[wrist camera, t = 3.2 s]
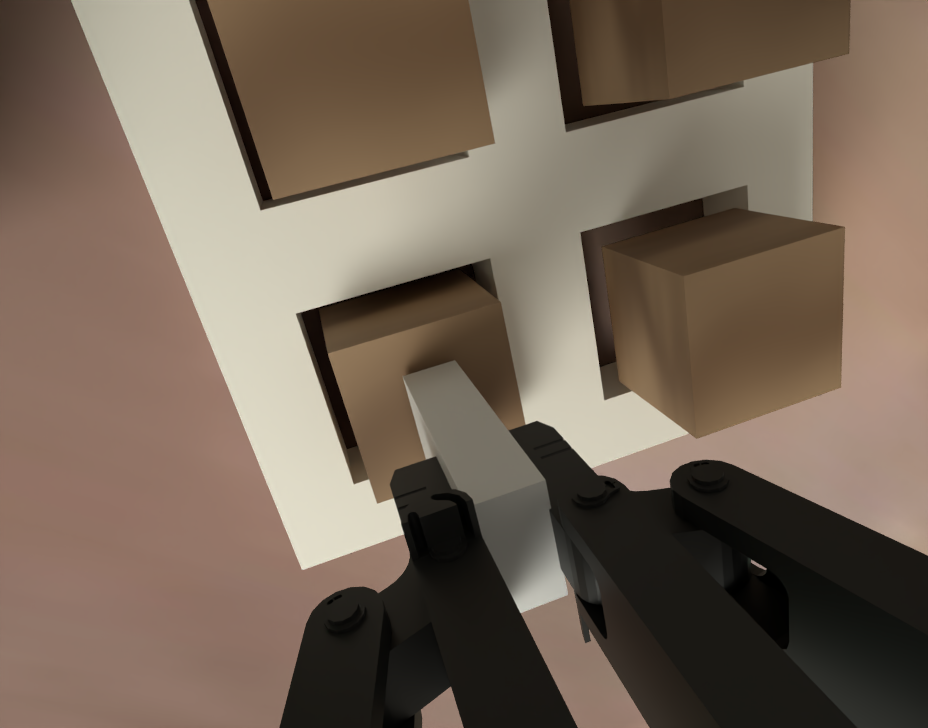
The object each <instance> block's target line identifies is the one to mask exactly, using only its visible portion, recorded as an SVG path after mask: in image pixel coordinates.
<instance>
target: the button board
mask: <svg viewBox="0 0 928 728" xmlns="http://www.w3.org/2000/svg"><path fill="white" fill-rule="evenodd" d="M71 2H72V4H73V7H74V9H75V12H76V14H77V17H78V19H79V21H80V24H81V26H82V29H83V31H84V34H85V36H86V39H87V41H88V44H89V46H90V49H91V51H92V53H93V56H94V58H95V61H96V63H97V66H98V68H99V71H100V73H101V76H102V78H103V81H104V83H105V85H106V88H107V90H108V93H109V95H110V98H111V100H112V103H113V105H114V108H115V110H116V113H117V115H118V118H119V120H120V122H121V125H122V127H123V130H124V132H125V135H126V137H127V140H128V142H129V145H130V147H131V150H132V152H133V154H134V157H135V159H136V162H137V164H138V167H139V169H140V172H141V174H142V177H143V179H144V182H145V184H146V186H147V189H148V191H149V194H150V196H151V199H152V201H153V204H154V206H155V209H156V211H157V214H158V216H159V218H160V221H161V223H162V226H163V228H164V231H165V233H166V236H167V238H168V241H169V243H170V246H171V248H172V250H173V253H174V255H175V258H176V260H177V263H178V265H179V268H180V270H181V273H182V275H183V278H184V280H185V283H186V285H187V287H188V290H189V292H190V295H191V297H192V300H193V302H194V305H195V307H196V310H197V312H198V315H199V317H200V319H201V322H202V324H203V327H204V329H205V332H206V334H207V337H208V339H209V342H210V344H211V347H212V349H213V351H214V354H215V356H216V359H217V361H218V364H219V366H220V369H221V371H222V374H223V376H224V379H225V381H226V383H227V386H228V388H229V391H230V393H231V396H232V398H233V401H234V403H235V406H236V408H237V411H238V413H239V416H240V418H241V420H242V423H243V425H244V428H245V430H246V433H247V435H248V438H249V440H250V443H251V445H252V448H253V450H254V452H255V455H256V457H257V460H258V462H259V465H260V467H261V470H262V472H263V475H264V477H265V480H266V482H267V484H268V487H269V489H270V492H271V494H272V497H273V499H274V502H275V504H276V507H277V509H278V512H279V514H280V516H281V519H282V521H283V524H284V526H285V529H286V531H287V534H288V536H289V539H290V541H291V544H292V546H293V548H294V551H295V553H296V556H297V558H298V561H299V563H300V566H301V568H302V570H304V569H307V568H309V567H312V566H315V565H318V564H321V563H324V562H326V561H329V560H332V559H335V558H338V557H341V556H343V555H346V554H349V553H352V552H355V551H358V550H360V549H363V548H366V547H369V546H372V545H375V544H377V543H380V542H383V541H386V540H389V539H392V538H394V537H397V536H400V535H403V534H404V532H403V529H402V526H401V520H400V517H399V514H398V511H397V507H396V504H395V501H394V498H393V499H390V500H387V501H384V502H381V503H378V504H377V502H376V499H375V496H374V493H373V490H372V487H371V484H370V481H369V478H368V475H367V472H366V469H365V466H364V463H363V459H362V456H361V453H360V450H359V447H358V446H355V447H352V448H349V449H346V446H345V443H344V440H343V437H342V434H341V431H340V428H339V425H338V422H337V419H336V416H335V413H334V410H333V407H332V404H331V401H330V399H329V396H328V393H327V390H326V387H325V384H324V381H323V378H322V375H321V372H320V369H319V366H318V363H317V360H316V357H315V354H314V351H313V348H312V345H311V342H310V339H309V336H308V333H307V330H306V327H305V324H304V321H303V318H302V316H301V313H300V312H303V311H307V310H310V309H314V308H317V307H321V306H324V305H328V304H331V303H335V302H338V301H342V300H345V299H349V298H352V297H356V296H359V295H363V294H366V293H370V292H373V291H377V290H380V289H384V288H387V287H391V286H394V285H398V284H401V283H405V282H408V281H412V280H415V279H419V278H422V277H426V276H429V275H433V274H436V273H440V272H443V271H447V270H450V269H454V268H457V267H461V266H464V265H468V264H471V263H472V265H473V269H474V274H475V279H476V283H477V284H479V285H480V286H481V287H482V288H484V289H485V290H486V291H487V292H489V293H490V294H491V295H493V296H494V297H495V298H496V299H498V300H499V301H500V302H501V305H502V310H503V315H504V320H505V325H506V330H507V335H508V340H509V344H510V349H511V354H512V359H513V364H514V369H515V374H516V379H517V384H518V389H519V394H520V399H521V404H522V409H523V414H524V419H525V424H529V423H532V422H535V421H539V422H541V423H544V424H546V425H549V426H551V427H554V428H555V429H556V431H557V432H558V433H559V434H560V435H561V436H562V437H563V439H564V440H566V441H567V443H568V444H569V445H570V446H571V448H572V449H574V450H575V451H576V452H577V453H578V455H579V456H580V457H581V458H582V459H583V460H584V461H585V462H586V463H587V464H588V465H589V467H590V468H593V467H596V466H598V465H601V464H604V463H607V462H610V461H613V460H615V459H618V458H621V457H624V456H627V455H630V454H632V453H635V452H638V451H641V450H644V449H647V448H649V447H652V446H655V445H658V444H661V443H664V442H666V441H669V440H672V439H675V438H678V437H681V436H683V435H686V434H689V433H688V432H687V431H685V430H684V429H683V428H681V427H680V426H679V425H677V424H676V423H675V422H673V421H672V420H671V419H669V418H668V417H667V416H665V415H664V414H663V413H661V412H660V411H659V410H657V409H656V408H655V407H653V406H652V405H650V404H649V403H648V402H646V401H645V400H644V399H642V398H641V397H640V396H638V395H637V394H636V393H634V392H633V391H632V390H630V389H629V388H628V387H626V386H625V385H624V384H622V383H621V382H620V381H619V376H618V369H617V362H614V363H611V364H608V365H605V366H602V367H599V360H598V353H597V346H596V339H595V332H594V325H593V318H592V311H591V305H590V298H589V291H588V284H587V277H586V270H585V263H584V256H583V249H582V242H581V235H580V232H584V231H587V230H591V229H594V228H598V227H601V226H605V225H608V224H612V223H615V222H619V221H622V220H626V219H629V218H633V217H636V216H640V215H643V214H647V213H650V212H654V211H657V210H661V209H664V208H668V207H671V206H675V205H678V204H682V203H685V202H689V201H692V200H696V199H699V198H703V209H704V217H705V216H708V215H712V214H715V213H719V212H722V211H725V210H729V209H732V208H738V209H744V210H749V211H755V212H761V213H767V214H773V215H778V216H784V217H790V218H796V219H802V220H807V221H812V205H813V63H810V64H806V65H802V66H798V67H794V68H790V69H786V70H783V71H779V72H775V73H771V74H767V75H763V76H759V77H755V78H751V79H747V80H743V81H739V82H735V83H731V84H727V85H724V86H720V87H716V88H712V89H708V90H704V91H700V92H696V93H692V94H688V95H684V96H680V97H676V98H672V99H666V100H660V101H656V102H652V103H648V104H644V105H640V106H636V107H632V108H628V109H624V110H620V111H616V112H612V113H609V114H605V115H601V116H597V117H593V118H589V119H585V120H581V121H577V122H573V123H569V124H565V123H564V116H563V109H562V102H561V95H560V88H559V81H558V74H557V67H556V60H555V53H554V46H553V39H552V32H551V25H550V18H549V11H548V4H547V0H469V6H470V11H471V16H472V22H473V27H474V32H475V38H476V43H477V49H478V54H479V59H480V65H481V70H482V75H483V81H484V86H485V91H486V97H487V102H488V108H489V113H490V118H491V124H492V129H493V134H494V140H495V144H491V145H487V146H483V147H480V148H476V149H472V150H468V151H464V152H460V153H456V154H452V155H448V156H444V157H440V158H436V159H432V160H428V161H424V162H421V163H417V164H413V165H409V166H405V167H401V168H397V169H393V170H389V171H385V172H381V173H377V174H373V175H369V176H365V177H361V178H358V179H354V180H350V181H346V182H342V183H338V184H334V185H330V186H326V187H322V188H318V189H314V190H310V191H306V192H302V193H299V194H295V195H291V196H287V197H283V198H279V199H275V200H273V199H270V200H266V201H263V200H262V197H261V194H260V191H259V188H258V185H257V182H256V179H255V176H254V173H253V170H252V167H251V164H250V161H249V158H248V156H247V153H246V150H245V147H244V144H243V141H242V138H241V135H240V132H239V129H238V126H237V123H236V120H235V117H234V114H233V111H232V108H231V105H230V102H229V99H228V96H227V93H226V90H225V87H224V84H223V81H222V78H221V75H220V73H219V70H218V67H217V64H216V61H215V58H214V55H213V52H212V49H211V46H210V43H209V40H208V37H207V34H206V31H205V28H204V25H203V22H202V19H201V16H200V13H199V10H198V7H197V4H196V1H195V0H71Z"/></svg>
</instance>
